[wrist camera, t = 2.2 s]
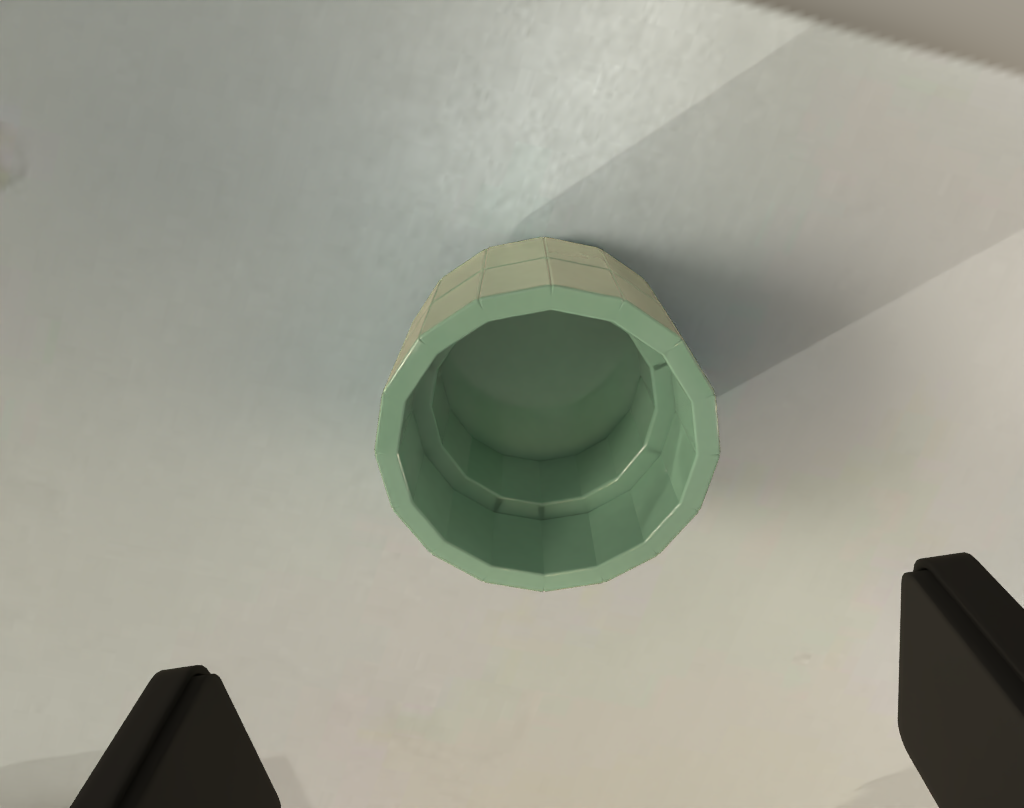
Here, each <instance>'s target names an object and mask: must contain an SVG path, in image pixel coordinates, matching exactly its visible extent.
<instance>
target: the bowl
mask: <svg viewBox="0 0 1024 808" xmlns="http://www.w3.org/2000/svg"><path fill="white" fill-rule="evenodd" d="M374 450H375V457H376V460H377V463H378V466H379V470H380V473H381V476H382V479H383V482H384V485H385V489H386V492H387V495H388V498H389V501H390V504H391V507H392V508H393V510H394V512H395V513H396V514H397V515H398V517H399V518H400V519H401V520H402V521H403V522H404V524H405V525H406V526H407V527H408V528H409V529H410V530H411V532H412V533H413V534H414V535H415V536H416V537H417V539H418V540H419V541H420V542H421V543H422V544H423V545H424V547H425V548H426V549H427V550H428V551H429V552H430V553H432V555H434V556H436V557H438V558H439V559H441V560H443V561H445V562H447V563H449V564H451V565H452V566H454V567H456V568H458V569H460V570H462V571H464V572H465V573H467V574H469V575H471V576H473V577H475V578H477V579H478V580H480V581H484V582H485V583H491V584H497V585H503V586H509V587H515V588H521V589H527V590H534V591H540V592H543V591H546V592H547V591H554V590H560V589H567V588H573V587H580V586H586V585H593V584H599V583H603V582H607V581H609V580H611V579H613V578H615V577H617V576H619V575H621V574H623V573H625V572H627V571H629V570H631V569H633V568H634V567H636V566H638V565H640V564H642V563H644V562H646V561H648V560H650V559H652V558H654V557H656V556H657V555H658V554H660V553H661V552H662V551H663V550H664V549H665V548H666V547H667V546H668V544H669V543H670V542H671V541H672V540H673V539H674V538H675V537H676V536H677V535H678V534H679V533H680V532H681V530H682V529H683V528H684V527H685V526H686V525H687V524H688V523H689V522H690V521H691V520H692V519H693V518H694V516H695V515H696V514H697V513H698V511H699V510H700V509H701V506H702V503H703V501H704V498H705V495H706V492H707V490H708V487H709V484H710V482H711V479H712V476H713V473H714V471H715V468H716V465H717V463H718V460H719V457H720V455H719V454H720V440H719V428H718V416H717V404H716V396H715V394H714V390H713V388H712V386H711V385H710V383H709V381H708V380H707V378H706V376H705V375H704V373H703V371H702V370H701V368H700V366H699V364H698V363H697V361H696V359H695V358H694V356H693V354H692V353H691V351H690V349H689V348H688V346H687V344H686V343H685V341H684V339H683V338H682V336H681V335H680V333H679V332H678V330H677V328H676V327H675V325H674V324H673V322H672V321H671V319H670V317H669V316H668V314H667V313H666V311H665V310H664V308H663V307H662V305H661V303H660V302H659V300H658V299H657V297H656V296H655V294H654V293H653V291H652V289H651V288H650V286H649V285H648V283H647V282H645V280H644V279H643V278H642V277H641V276H639V275H638V274H636V273H635V272H634V271H632V270H631V269H629V268H628V267H626V266H625V265H624V264H622V263H621V262H619V261H618V260H616V259H615V258H614V257H612V256H611V255H609V254H608V253H606V252H605V251H603V250H602V249H599V248H598V247H593V246H588V245H583V244H578V243H574V242H569V241H564V240H559V239H554V238H549V237H544V238H543V237H538V238H533V239H528V240H523V241H518V242H513V243H508V244H503V245H498V246H492V247H489V248H488V249H485V250H483V251H481V252H480V253H478V254H477V255H475V256H474V257H472V258H471V259H469V260H468V261H466V262H465V263H463V264H462V265H460V266H459V267H457V268H456V269H454V270H453V271H451V272H450V273H448V274H447V275H445V276H444V277H443V278H442V279H441V280H439V281H438V283H437V285H436V286H435V288H434V289H433V291H432V292H431V294H430V296H429V297H428V299H427V300H426V302H425V303H424V305H423V306H422V308H421V310H420V311H419V313H418V314H417V316H416V317H415V319H414V321H413V322H412V325H411V327H410V329H409V332H408V334H407V336H406V339H405V341H404V343H403V346H402V348H401V350H400V353H399V355H398V357H397V360H396V362H395V364H394V367H393V369H392V371H391V374H390V376H389V378H388V381H387V383H386V385H385V388H384V390H383V393H382V397H381V405H380V412H379V419H378V427H377V434H376V441H375V449H374Z"/></svg>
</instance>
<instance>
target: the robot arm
mask: <svg viewBox="0 0 1024 808" xmlns="http://www.w3.org/2000/svg"><path fill="white" fill-rule="evenodd" d="M898 727H899V732H900V735H901V739H902V741H903V744H904V746H905V749H906V751H907V753H908V754H909V756H910V758H911V760H912V761H913V763H914V765H915V767H916V768H917V770H918V772H919V774H920V775H921V777H922V779H923V781H924V782H925V784H926V786H927V788H928V789H929V791H930V793H931V794H932V796H933V798H934V800H935V801H936V803H937V805H938V807H939V808H1024V609H1023V608H1022V607H1021V606H1020V605H1019V604H1018V603H1017V601H1016V600H1015V599H1014V598H1013V597H1012V596H1011V595H1010V594H1009V593H1008V592H1007V591H1006V590H1005V589H1004V588H1003V587H1002V586H1001V585H1000V584H999V583H998V582H997V581H996V580H995V578H994V577H993V576H992V575H991V574H990V573H989V572H988V571H987V570H986V569H985V568H984V567H983V566H982V565H981V564H980V563H979V562H978V561H977V560H976V559H975V558H974V557H973V556H972V555H970V554H968V553H965V552H963V553H956V554H949V555H943V556H936V557H929V558H922V559H919V560H917V561H916V563H915V564H914V570H913V572H908V573H904V575H903V576H902V582H901V619H900V657H899V695H898ZM70 808H281V804H280V800H279V798H278V795H277V793H276V791H275V789H274V787H273V785H272V783H271V781H270V779H269V777H268V775H267V773H266V771H265V769H264V767H263V765H262V763H261V761H260V758H259V756H258V754H257V752H256V750H255V748H254V746H253V744H252V742H251V740H250V738H249V736H248V734H247V732H246V730H245V728H244V726H243V724H242V722H241V719H240V717H239V715H238V713H237V711H236V709H235V707H234V705H233V703H232V701H231V699H230V697H229V695H228V693H227V691H226V689H225V687H224V685H223V682H222V680H221V679H220V677H219V676H218V675H216V674H210V672H209V671H208V669H207V668H205V667H204V666H202V665H195V666H188V667H181V668H175V669H168V670H161V671H160V672H158V673H156V674H155V675H154V676H153V678H152V679H151V680H150V682H149V683H148V685H147V686H146V688H145V690H144V691H143V693H142V694H141V696H140V697H139V699H138V701H137V702H136V704H135V705H134V707H133V709H132V710H131V712H130V713H129V715H128V716H127V718H126V720H125V721H124V723H123V724H122V726H121V727H120V729H119V731H118V732H117V734H116V735H115V737H114V739H113V740H112V742H111V743H110V745H109V746H108V748H107V750H106V751H105V753H104V754H103V756H102V757H101V759H100V761H99V762H98V764H97V765H96V767H95V769H94V770H93V772H92V773H91V775H90V776H89V778H88V780H87V781H86V783H85V784H84V786H83V787H82V789H81V791H80V792H79V794H78V795H77V797H76V799H75V800H74V802H73V803H72V805H71V806H70Z"/></svg>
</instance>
